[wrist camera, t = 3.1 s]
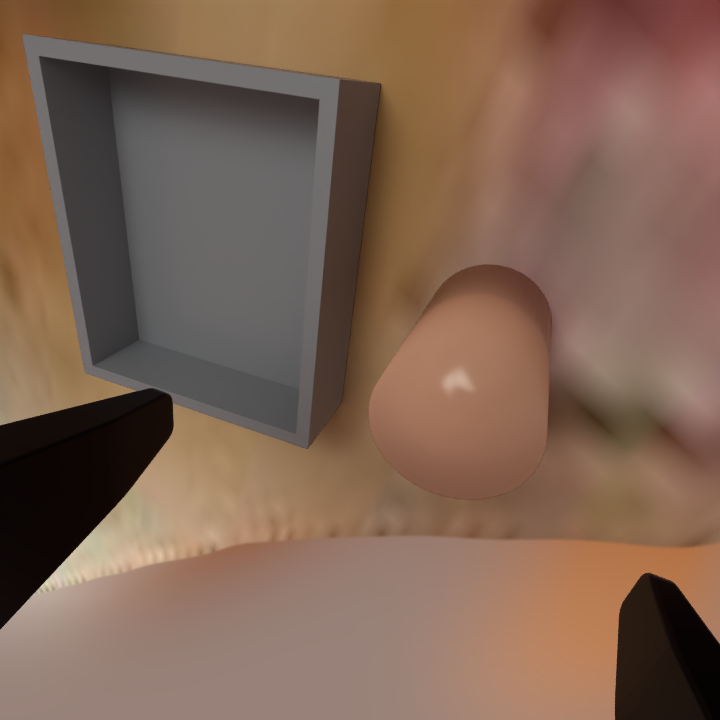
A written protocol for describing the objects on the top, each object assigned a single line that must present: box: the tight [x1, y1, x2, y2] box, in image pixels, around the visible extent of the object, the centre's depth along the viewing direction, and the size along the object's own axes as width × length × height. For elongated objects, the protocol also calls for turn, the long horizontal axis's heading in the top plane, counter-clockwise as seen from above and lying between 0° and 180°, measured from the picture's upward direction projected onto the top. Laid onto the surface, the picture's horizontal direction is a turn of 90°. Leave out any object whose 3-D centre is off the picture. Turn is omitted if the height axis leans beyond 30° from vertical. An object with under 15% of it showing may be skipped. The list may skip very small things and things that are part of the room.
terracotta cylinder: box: [369, 265, 552, 500], centre depth 17 cm, size 5×5×8 cm
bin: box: [22, 34, 381, 449], centre depth 21 cm, size 12×14×4 cm
